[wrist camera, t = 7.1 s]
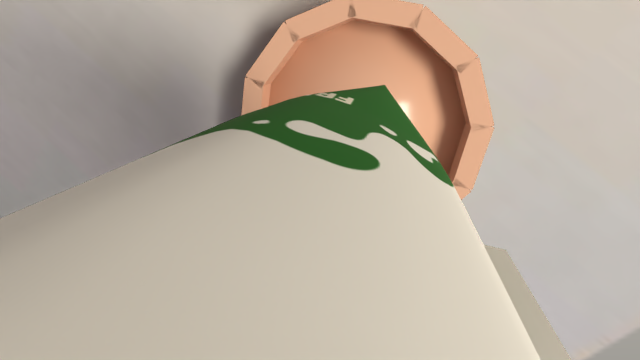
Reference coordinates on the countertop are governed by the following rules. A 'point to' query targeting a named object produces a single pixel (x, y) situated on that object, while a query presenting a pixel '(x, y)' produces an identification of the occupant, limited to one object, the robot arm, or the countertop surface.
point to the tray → (384, 73)
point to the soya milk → (261, 250)
